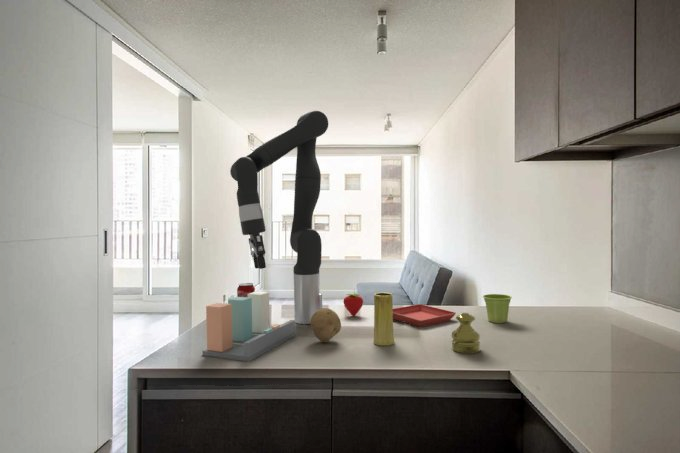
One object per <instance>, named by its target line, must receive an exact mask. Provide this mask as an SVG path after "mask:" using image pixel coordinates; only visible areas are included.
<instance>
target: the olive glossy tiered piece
mask: <svg viewBox="0 0 680 453" xmlns="http://www.w3.org/2000/svg"><path fill="white" fill-rule="evenodd" d="M455 320H456V321H458V322H459V324H460V325H459V326H458V327H457V328H456V329H454V330H453V331H452V332H451V338H452V340H451V349H452V350H453V351H455V352H457V353H460V354H468V355H472V354H477V353H479V352H480V350H481V342H480V340H481V335H480V333H479V332H478V331H477V330H475V328H473V326H471V324H472V322H474V321H476V316H474V315H472V314H470V313H469V312H461V313H460V314H458V315H457V314H456V315H455Z"/></svg>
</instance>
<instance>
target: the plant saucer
mask: <svg viewBox="0 0 680 453" xmlns="http://www.w3.org/2000/svg"><path fill="white" fill-rule="evenodd" d="M456 315H457V313H456V312H454V311H451V310H447V309H442V308H438V307H433V306H431V305H430V306H429V305H426V304H421V303H419V304H418V303H417V304H413V305H407V306H401V307H395V308H393V320H396V321H399V322H402V323H405V324H408V325H409V324H410V325H413V326H416V327H420V328H421V327H422V328H423V327H425V326H430V325H434V324H435V325H436V324H440V323H445V322H448V321H450V320H452V318H454V317H455V316H456Z"/></svg>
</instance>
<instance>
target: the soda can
mask: <svg viewBox="0 0 680 453" xmlns="http://www.w3.org/2000/svg"><path fill="white" fill-rule="evenodd" d="M252 292H256V287H255V286H254V283H252V282H242V283H239V284H238V286H237V288H236V294H237V296H236V297H248V294H249V293H252Z"/></svg>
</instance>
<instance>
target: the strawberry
mask: <svg viewBox="0 0 680 453" xmlns="http://www.w3.org/2000/svg"><path fill="white" fill-rule="evenodd" d="M353 292H354V293H348V294H346V296H345V297H344V298H343V300H342V301H343V305H344V307H345V310H347V311H348V312H349V313H350V315H351V316H352V317H355V316H356V315H357V314H358V313H359V312H360V310H361V309H362V307H363V304H364V299H363V298H362V296H360V295H359V294H357V293H356V292H355V290H353Z"/></svg>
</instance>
